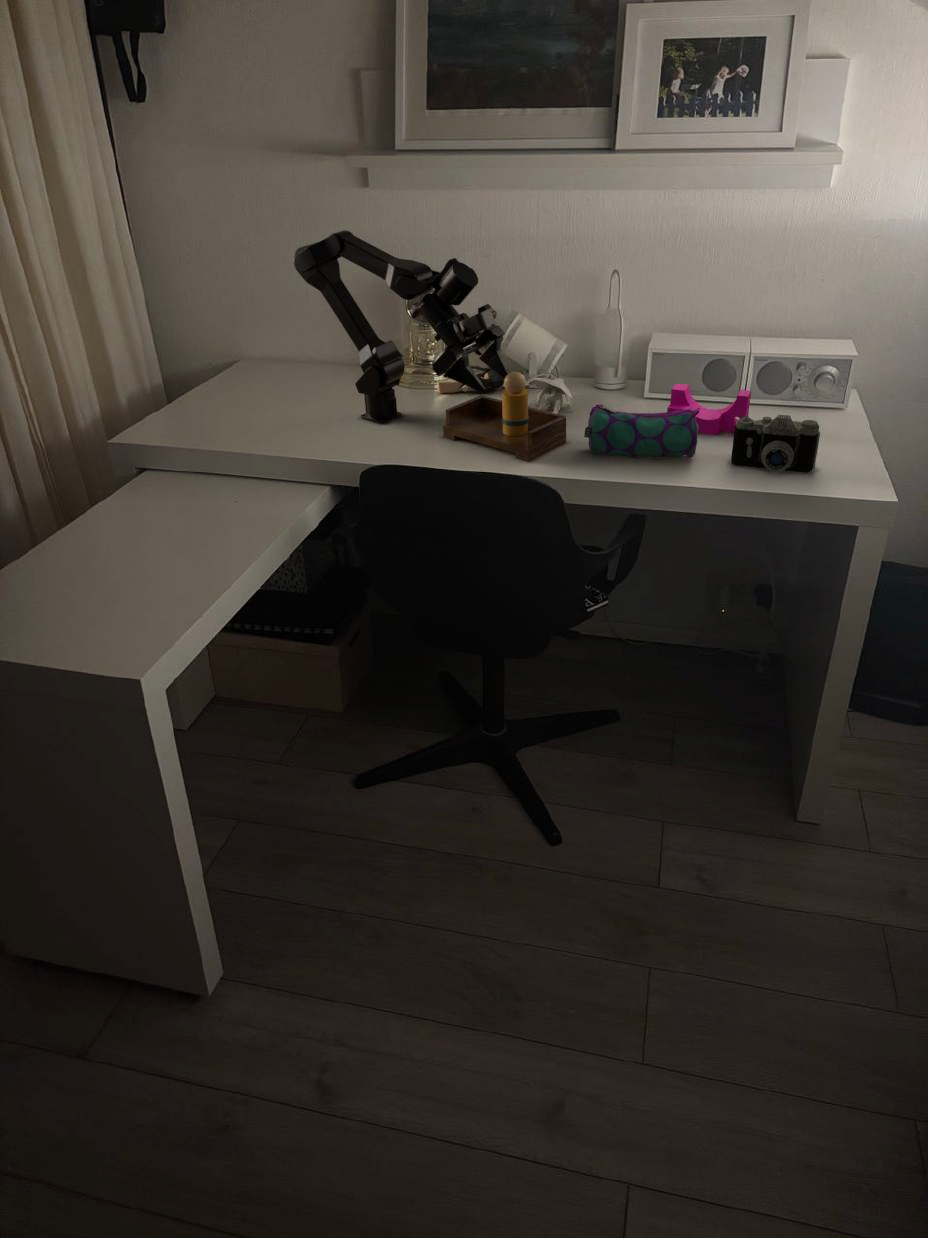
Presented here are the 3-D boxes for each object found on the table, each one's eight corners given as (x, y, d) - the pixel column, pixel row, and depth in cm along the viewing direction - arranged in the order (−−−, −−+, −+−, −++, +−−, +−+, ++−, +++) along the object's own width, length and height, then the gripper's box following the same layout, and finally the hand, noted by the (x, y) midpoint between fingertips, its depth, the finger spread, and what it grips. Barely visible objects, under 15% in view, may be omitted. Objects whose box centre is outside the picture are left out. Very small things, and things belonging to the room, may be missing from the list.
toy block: (665, 429, 196) (668, 393, 192) (673, 418, 201) (675, 383, 197) (741, 437, 191) (745, 400, 187) (746, 426, 196) (751, 390, 192)
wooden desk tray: (443, 437, 197) (441, 411, 194) (481, 420, 205) (480, 394, 202) (528, 461, 185) (528, 434, 182) (566, 442, 192) (566, 416, 189)
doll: (496, 432, 192) (495, 373, 185) (513, 424, 195) (512, 366, 189) (517, 438, 189) (516, 377, 182) (534, 430, 192) (533, 370, 186)
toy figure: (443, 401, 217) (508, 390, 219) (440, 373, 214) (506, 362, 216) (438, 395, 223) (501, 385, 225) (434, 367, 221) (498, 357, 223)
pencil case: (583, 461, 184) (584, 412, 179) (588, 443, 191) (589, 396, 186) (695, 466, 180) (700, 416, 175) (696, 448, 187) (700, 400, 182)
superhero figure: (570, 430, 200) (583, 390, 216) (569, 388, 195) (582, 350, 210) (521, 429, 203) (537, 389, 218) (519, 387, 197) (535, 349, 213)
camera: (727, 471, 177) (733, 419, 172) (732, 458, 182) (738, 406, 177) (812, 480, 172) (820, 427, 167) (814, 466, 178) (823, 413, 172)
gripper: (441, 304, 176) (495, 372, 177) (494, 282, 190) (544, 345, 190) (409, 343, 184) (460, 407, 185) (462, 319, 197) (510, 379, 198)
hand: (495, 384), depth 189 cm, fingers open, 9 cm apart
